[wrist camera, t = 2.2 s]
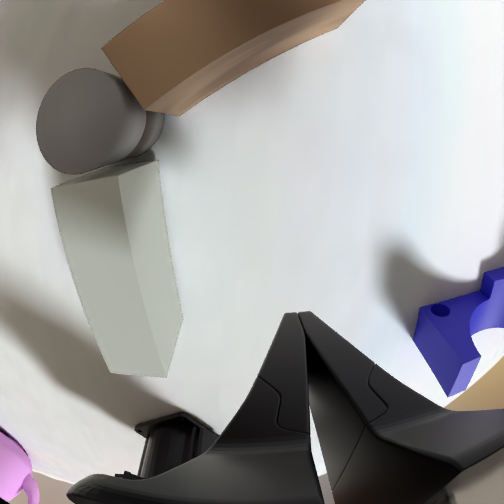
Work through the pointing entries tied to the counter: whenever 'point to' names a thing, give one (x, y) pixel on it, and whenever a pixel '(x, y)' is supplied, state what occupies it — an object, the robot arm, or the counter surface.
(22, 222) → the counter surface
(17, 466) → the teapot
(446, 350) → the cable clip
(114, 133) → the hinge leaf
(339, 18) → the hinge base
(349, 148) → the counter surface
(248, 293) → the counter surface
